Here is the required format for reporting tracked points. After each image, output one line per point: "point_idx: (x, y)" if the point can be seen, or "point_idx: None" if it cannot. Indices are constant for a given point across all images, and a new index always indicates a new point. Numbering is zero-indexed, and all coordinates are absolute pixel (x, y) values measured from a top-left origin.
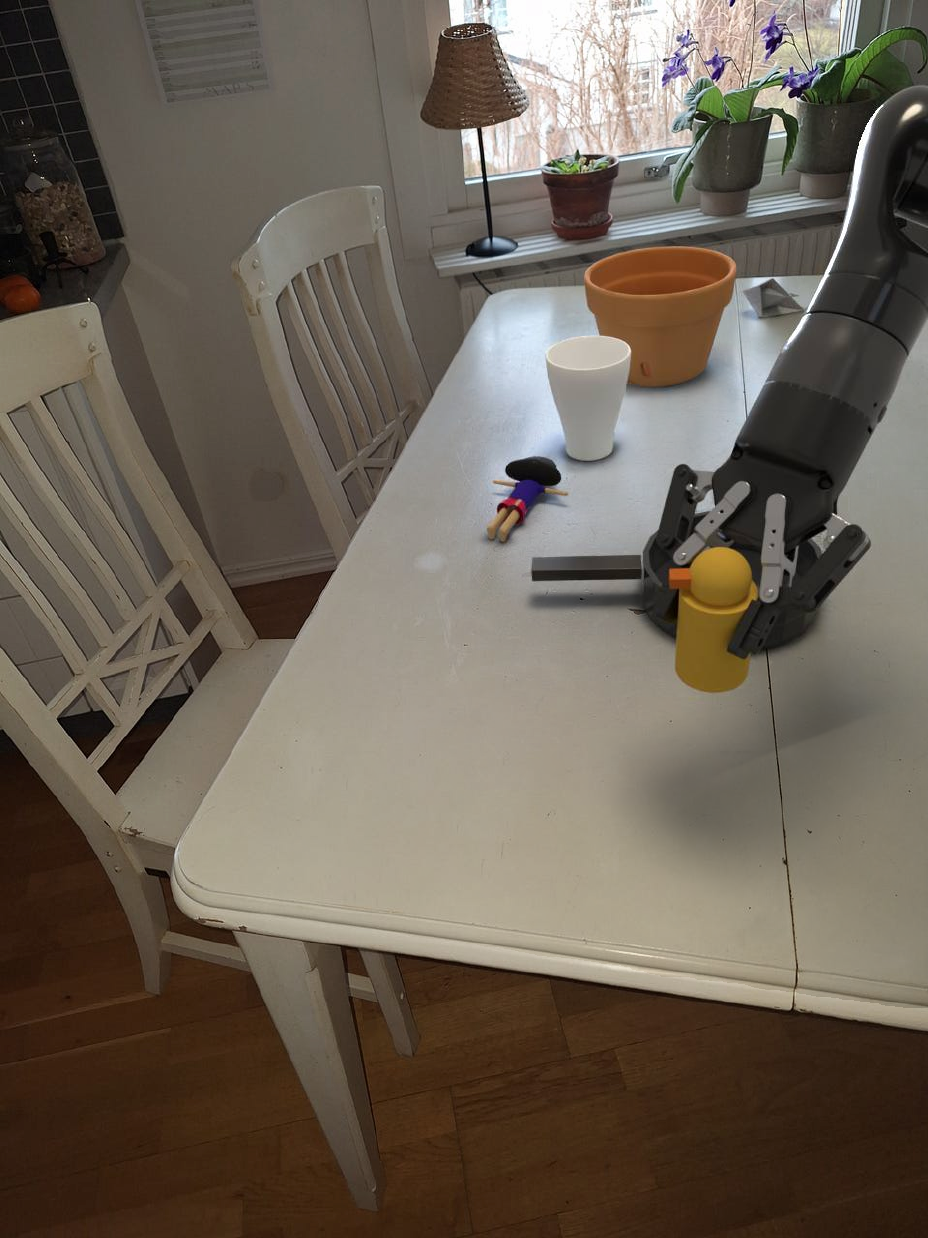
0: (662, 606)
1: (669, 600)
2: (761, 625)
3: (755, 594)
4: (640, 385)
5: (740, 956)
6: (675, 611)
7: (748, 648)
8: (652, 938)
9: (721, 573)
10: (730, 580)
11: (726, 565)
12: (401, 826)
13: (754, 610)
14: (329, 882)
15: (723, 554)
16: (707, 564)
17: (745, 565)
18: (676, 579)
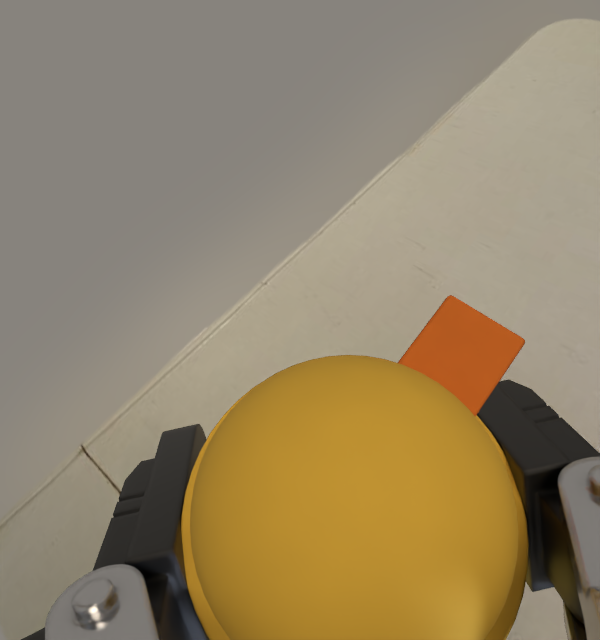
0: None
1: None
2: (118, 528)
3: (216, 628)
4: None
5: (138, 408)
6: None
7: (142, 466)
8: (219, 343)
9: (255, 406)
10: (216, 440)
11: (262, 448)
12: (523, 195)
13: (144, 526)
14: (487, 112)
15: (332, 488)
16: (352, 387)
17: (229, 590)
18: (435, 314)
